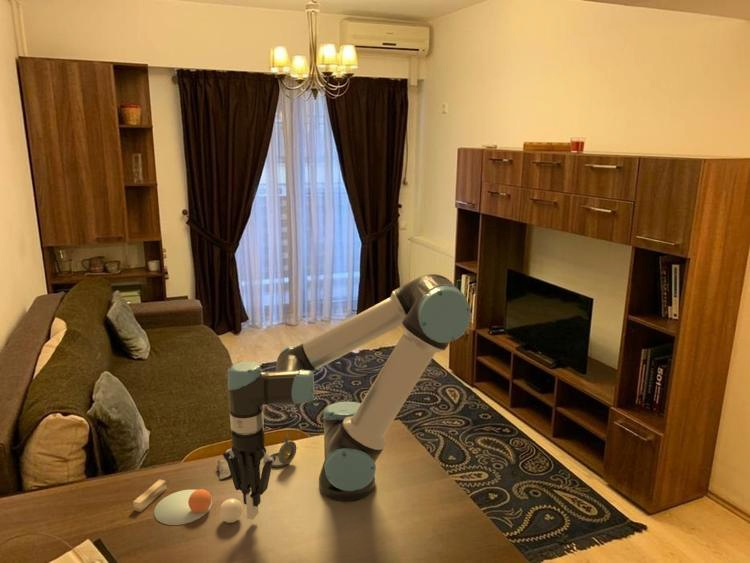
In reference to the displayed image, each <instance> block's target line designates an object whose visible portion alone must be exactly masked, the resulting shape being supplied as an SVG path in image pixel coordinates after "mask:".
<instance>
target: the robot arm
mask: <svg viewBox="0 0 750 563" xmlns="http://www.w3.org/2000/svg"><path fill="white" fill-rule="evenodd" d="M471 313H472V312H471V308H470V304H469V301H468V299H467V298H466V296H465V294H464V293H463V292H462V290H460V289H459V288H458V287H456V286H455V285H454V283H453V281H451V280H450V279H449V278H447V277H446V276H443V275H441V274H436V273H434V274H433V273H432V274H431V273H430V274H425V275H422V276H418V277H417V278H415V279H413V280H411V281H408V282H407V283H406V284H403V285H402V286H400V287H398V288H396V289H394V290H392V292H391V294H390V297H388V298H386V299H384V300H382V301H380V302H379V303H376V304H375V305H373V306H371V307H369V308H367V309H365V310H363V311H362V312H359V313H358V314H356V315H354V316H352V317H350V318H348V319H347V320H344V321H342V322H341V323H338V324H337V325H335V326H334V327H331V328H329V329H328V330H326V331H324V332H322V333H320V334H318V335H316V336H314V337H313V338H311V339H309V340H307V341H305V342H304V343H301V344H299V345H288V346H286V347H284V348H283V349H282V350H281V351H280V353H279V355H278V357H277V360H276V367H275V368H276V369H275V371H263V370H262V369H261V365H260V364H259V363H258V362H255V361H249V360H248V361H246V360H245V361H241V362H237V363H234V364H232V365H231V366H229V368H228V369H227V387H226V389H227V393H228V407H229V419H230V435H231V436H230V437H231V445H232V446H231V447H229V448H228V449H227V450H225V452H223V454H222V456H223V459H224V458H225V459H226V461H227V463H228V466H229V469H230V473H231V475H230V476H231V480H232V482H233V486H234V489H235V491H239V490H240V491H241V493H242V497H243V504H244V505H246V515H247V516H246V519H248V520H252V521H253V520H254V519H255V518H256V517H257V516H258V514H259V505H261V501H262V500H261V496H263V494H264V493H265V492H266V491H267V490H268V487H269V482H270V481H269V480H270V476H271V472H272V467H273V466H272V464H273V462H274V461H275V460H276V458H275V456H271V457H270V455H269V454H268V453H267V449H266V447H265V439H266V438H265V437H266V436H265V427H264V425H265V423H264V420H265V419H264V406H268V405H300V404H308V403H312V402H313V401H314V399H315V377H314V376H315V375H314V372H315V371H317V370H319V369H320V368H323V367H325V366H326V365H328V364H330V363H332V362H333V361H335V360H338V359H340V358H341V357H344V356H345V355H347V354H349V353H351V352H353V351H355V350H357V349H359V348H361V347H362V346H365V345H366V344H368V343H370V342H372V341H374V340H376V339H378V338H379V337H381V336H383V335H385V334H387V333H390V332H391V331H393V330H395V329H397V328H399V327H400V326H401V327H402V330H403V332H402V335H401V337H400V338H399V340H398V341H397V344H396V345H395V346H394V348H393V350H392V351H391V353H390V355H389V357H387V360H386V361H385V363H384V365H383V366H382V368H381V370H379V373H378V375H377V377H376V378H375V380H374V382H372V385H371V386H370V388H369V390H368V391H367V393H366V394H365V396H364V397H363V400H362V401H361V403H360V402H356V401H339V402H335V403H331V404H329V405H327V406H326V407H325V408H324V410H323V417H322V419H323V430H324V431H323V438H324V440H323V441H324V445H323V446H324V453H323V456H324V461H323V462H322V463H323V464H322V467H321V470H320V473H319V476H318V488H319V491H320V492H321V494H322V495H323V496H325V497H327V498H329V499H331V500H334V501H338V502H354V501H357V500H358V501H359V500H360V499H364V498H365V497H367V496H368V495H370V494H371V493H372V492H373V491H374V489H375V485H376V476H375V475H376V470H377V465H376V463H377V460H378V459H379V457H380V455H381V454H382V452H383V451H384V449H385V447H386V444H387V443H386V442H387V441H386V439H385V434H386V433H387V432H388V430H389V429H390V427H391V426H392V424H393V422H394V421H395V419H396V417H397V415H398V414H399V412H400V411H401V409H402V407H403V406H404V404H405V402H406V401H407V399H408V398H409V396H410V394H411V393H412V391H413V390H414V388H415V386H416V385H417V384H418V382H419V380H420V378H421V377H422V375H423V373H424V372H425V370H426V369H427V367H428V366H429V363H430V362H431V360H432V359H433V357H434V356H435V354H436V353H441V352H444V351H446V349H447V348H448V346H449V345H450V343H451V342H453V341H456V340H458V339H459V338H460V337H462V336H463V335H464V334H465V332H466V331H467V329H468V327H469V326H470V323H471V317H472V315H471ZM238 460H239V462H238ZM262 460H263V461H262ZM261 461H262V462H263V463H262V464H263V466H262V469H261Z"/></svg>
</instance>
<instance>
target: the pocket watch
mask: <svg viewBox="0 0 750 563" xmlns="http://www.w3.org/2000/svg"><path fill="white" fill-rule="evenodd" d="M290 437H291V433H287V434H286V435H285V436H284V437H283V440H284V442H283V443H282V445H281V446H280V448H279V450H278V452H275V453H272V454H270V455H269V456H270V457H271V456H275V458H276V460H275V461H274V462H273V464H272V467H276V468H279V467H284V466H286V465H289V463H291V462H292V461H293V460H294V458H295V456H296V453H297V445H296V443H295V442H294V441H293V440H290V439H289V438H290Z"/></svg>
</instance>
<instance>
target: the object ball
mask: <svg viewBox="0 0 750 563" xmlns="http://www.w3.org/2000/svg"><path fill="white" fill-rule="evenodd" d="M195 490H196V491H194V492H193V493H192V494H191V495H190V497H189V501H188V504H189V507H190V509H191V510H192V511H193V512H196V513H202V512H204V511H206V510H207V509H208V508H209V506H210V504H211V498H212V495H211V493H210V492H209V491H207V490H206V489H202V488H201V489H195Z"/></svg>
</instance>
